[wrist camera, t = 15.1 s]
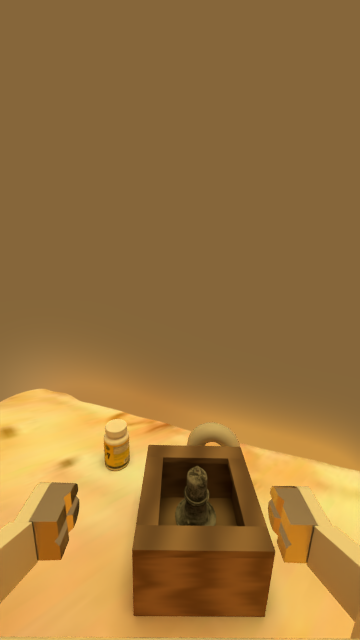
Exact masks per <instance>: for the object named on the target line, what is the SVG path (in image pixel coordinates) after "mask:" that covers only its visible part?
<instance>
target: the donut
mask: <svg viewBox="0 0 360 640" xmlns="http://www.w3.org/2000/svg"><path fill="white" fill-rule="evenodd" d="M208 442H216V443H218V444H220V445H221V446H225V447H240V444H239V441H238V439H237V437H236V435H235V434H234V433H233V432H232V431H231V430H230V429H229V428H227V427H226V426H224V425H222V424H218V423H204V424H201V425H199V426H198V427H196V428H195V429H193V431H192V432H191V434H190V435H189V438H188V443H187V446H205V444H206V443H208Z"/></svg>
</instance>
